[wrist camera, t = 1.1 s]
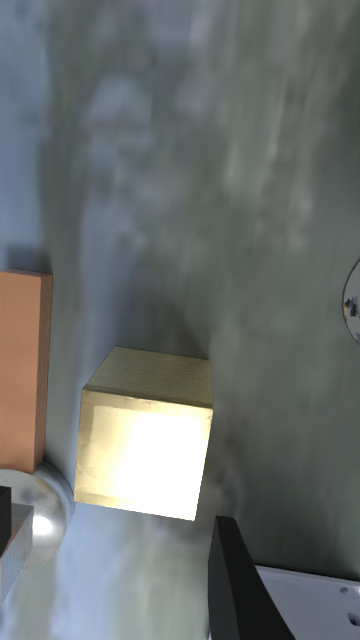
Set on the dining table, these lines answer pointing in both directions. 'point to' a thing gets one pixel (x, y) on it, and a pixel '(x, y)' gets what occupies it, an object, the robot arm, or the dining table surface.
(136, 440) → the brushed gold cube
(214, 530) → the robot arm
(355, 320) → the wine glass
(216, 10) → the dining table surface
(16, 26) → the dining table surface
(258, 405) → the dining table surface
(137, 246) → the dining table surface
